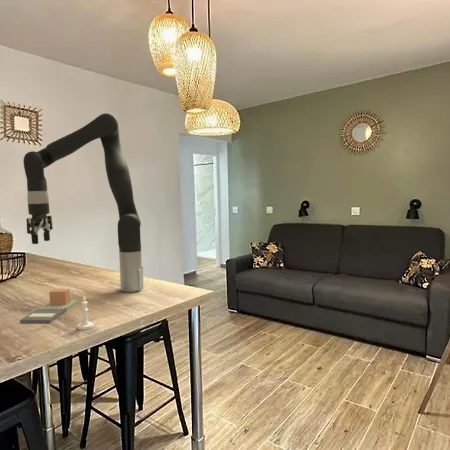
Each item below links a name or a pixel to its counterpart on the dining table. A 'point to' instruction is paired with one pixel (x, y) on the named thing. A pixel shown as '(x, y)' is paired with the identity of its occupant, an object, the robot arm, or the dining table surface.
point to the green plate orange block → (60, 299)
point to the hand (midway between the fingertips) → (41, 242)
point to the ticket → (43, 315)
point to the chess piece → (84, 317)
